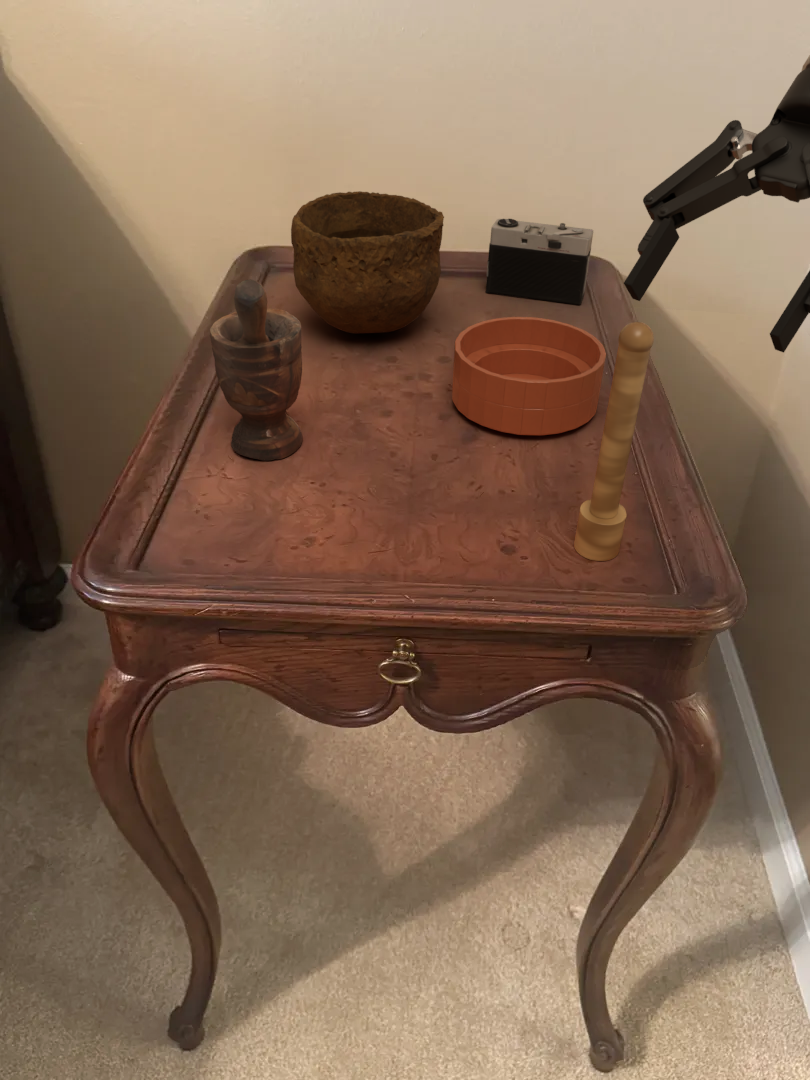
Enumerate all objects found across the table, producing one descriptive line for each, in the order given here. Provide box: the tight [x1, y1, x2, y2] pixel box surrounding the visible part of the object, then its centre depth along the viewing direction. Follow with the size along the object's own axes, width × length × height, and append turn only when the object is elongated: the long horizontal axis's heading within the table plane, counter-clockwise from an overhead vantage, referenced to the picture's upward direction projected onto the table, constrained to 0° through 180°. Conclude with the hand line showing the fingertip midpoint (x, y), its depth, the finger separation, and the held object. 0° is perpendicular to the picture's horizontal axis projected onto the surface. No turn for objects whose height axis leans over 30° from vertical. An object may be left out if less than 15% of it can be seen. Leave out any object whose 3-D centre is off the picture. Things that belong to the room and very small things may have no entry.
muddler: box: [573, 321, 655, 562], centre depth 73 cm, size 4×4×21 cm
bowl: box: [290, 190, 445, 334], centre depth 111 cm, size 19×19×15 cm
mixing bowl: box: [451, 316, 607, 436], centre depth 98 cm, size 16×16×7 cm
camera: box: [485, 218, 594, 306], centre depth 124 cm, size 14×9×10 cm, turn 65°
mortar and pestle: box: [209, 278, 303, 462], centre depth 85 cm, size 12×9×20 cm
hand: (700, 317), depth 73 cm, fingers open, 13 cm apart
